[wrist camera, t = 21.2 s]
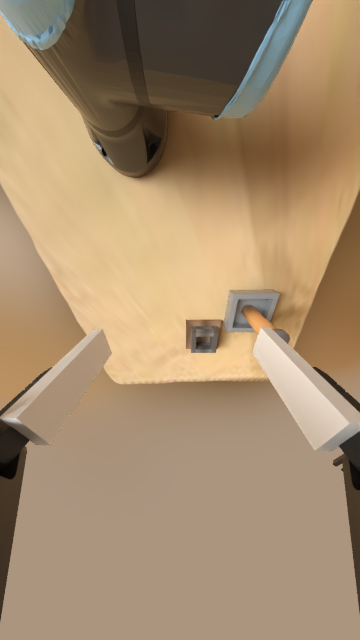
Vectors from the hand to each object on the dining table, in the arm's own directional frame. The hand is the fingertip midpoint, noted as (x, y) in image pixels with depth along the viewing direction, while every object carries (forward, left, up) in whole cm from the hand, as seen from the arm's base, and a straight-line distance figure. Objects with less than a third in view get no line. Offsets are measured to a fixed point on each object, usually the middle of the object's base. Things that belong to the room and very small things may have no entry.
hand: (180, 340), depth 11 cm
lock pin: (+21, -12, -31) cm, 39 cm away
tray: (+21, -12, -32) cm, 40 cm away
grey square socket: (+7, -22, -32) cm, 39 cm away
